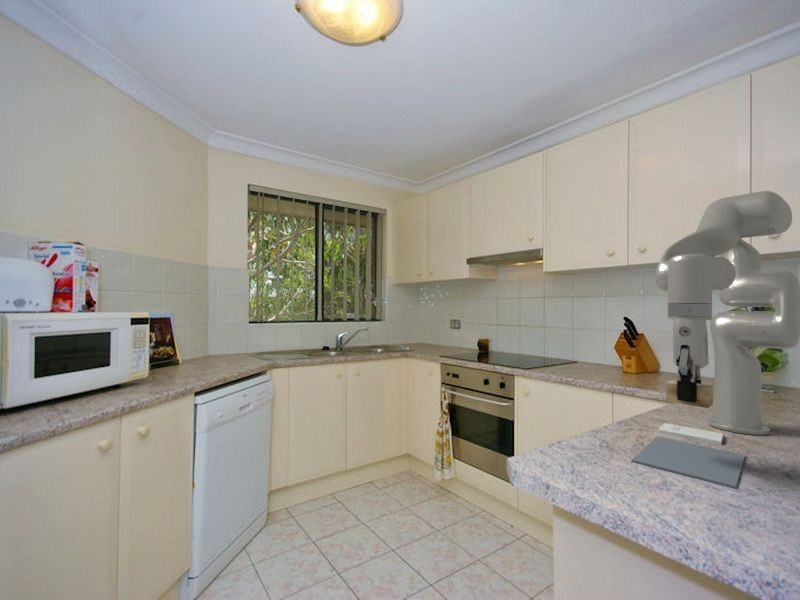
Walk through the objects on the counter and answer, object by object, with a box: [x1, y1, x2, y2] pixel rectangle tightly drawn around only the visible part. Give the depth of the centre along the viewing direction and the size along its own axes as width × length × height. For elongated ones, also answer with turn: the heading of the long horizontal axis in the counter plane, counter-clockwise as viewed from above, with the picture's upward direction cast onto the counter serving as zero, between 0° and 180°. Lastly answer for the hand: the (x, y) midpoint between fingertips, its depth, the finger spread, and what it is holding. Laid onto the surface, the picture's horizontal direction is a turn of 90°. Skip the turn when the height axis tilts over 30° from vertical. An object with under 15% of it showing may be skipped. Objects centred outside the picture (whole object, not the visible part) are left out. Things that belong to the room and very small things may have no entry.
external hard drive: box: [657, 422, 725, 446], centre depth 96 cm, size 2×8×12 cm
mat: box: [631, 436, 746, 489], centre depth 80 cm, size 22×16×1 cm
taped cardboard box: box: [665, 379, 714, 409], centre depth 80 cm, size 7×5×4 cm
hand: (689, 398), depth 80 cm, fingers closed on taped cardboard box, 5 cm apart
